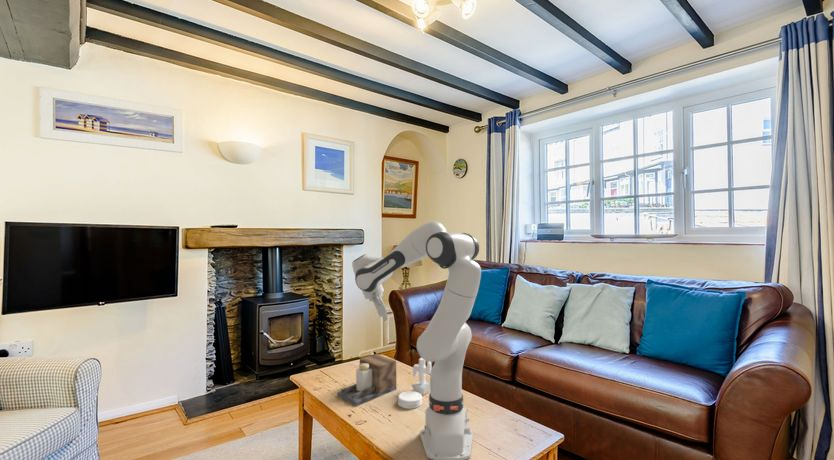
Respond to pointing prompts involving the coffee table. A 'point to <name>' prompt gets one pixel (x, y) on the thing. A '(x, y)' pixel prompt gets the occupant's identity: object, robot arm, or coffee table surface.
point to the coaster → (410, 399)
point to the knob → (363, 377)
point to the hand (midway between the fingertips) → (385, 319)
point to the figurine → (421, 377)
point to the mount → (373, 381)
